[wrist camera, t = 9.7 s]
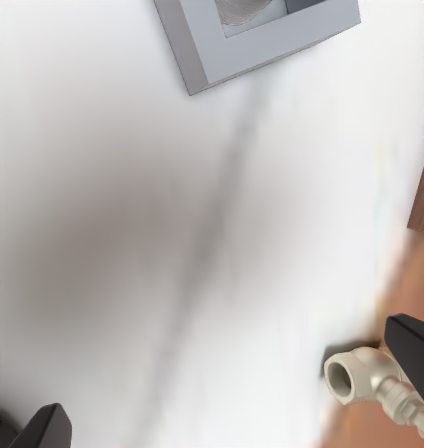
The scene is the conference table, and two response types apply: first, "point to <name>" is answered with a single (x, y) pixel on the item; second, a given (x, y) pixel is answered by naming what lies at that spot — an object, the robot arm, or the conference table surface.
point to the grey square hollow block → (246, 37)
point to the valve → (375, 384)
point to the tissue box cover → (418, 209)
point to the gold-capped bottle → (239, 10)
